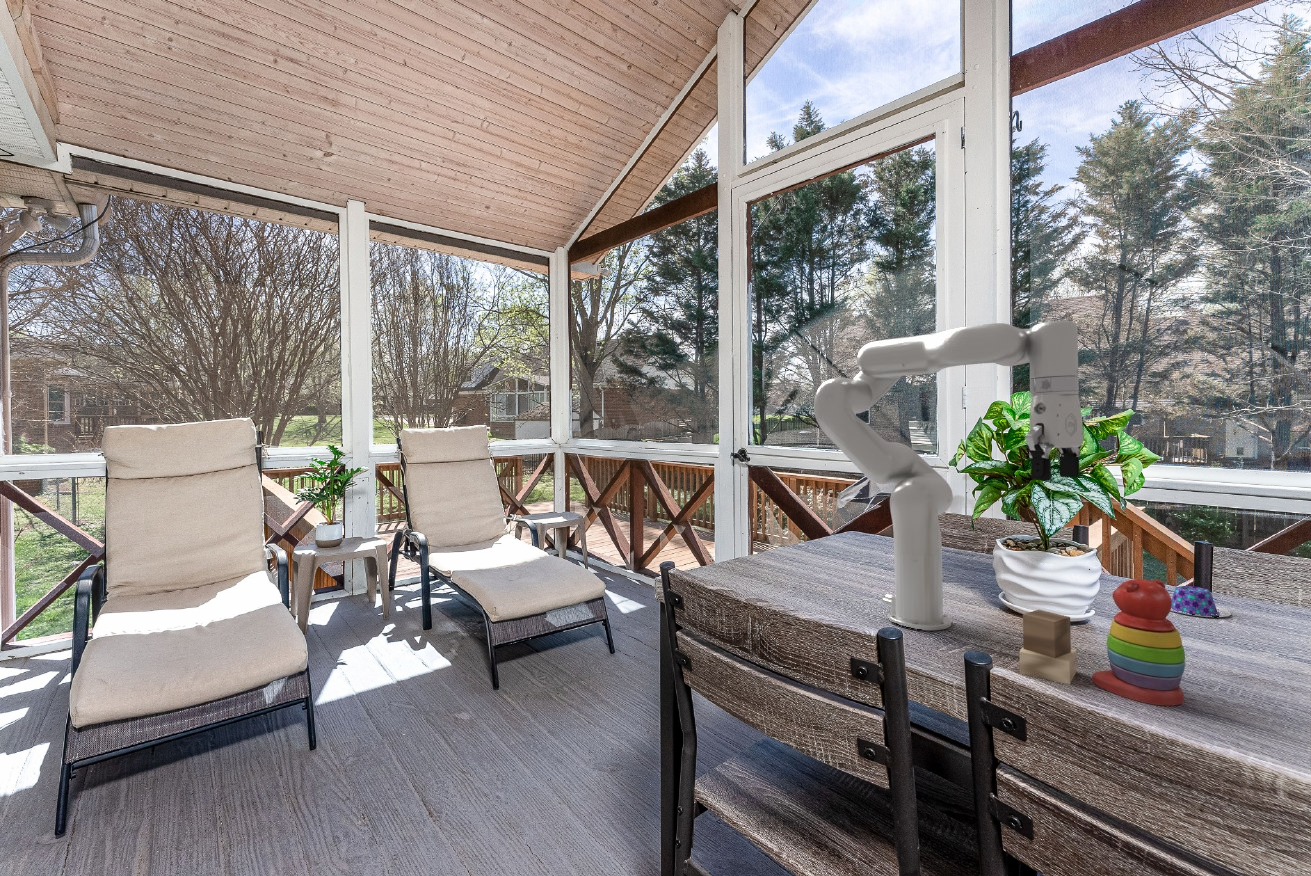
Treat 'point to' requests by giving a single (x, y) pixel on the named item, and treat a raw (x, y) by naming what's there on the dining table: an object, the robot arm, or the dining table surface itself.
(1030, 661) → the oak block
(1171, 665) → the stacking bear
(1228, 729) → the dining table surface
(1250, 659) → the dining table surface
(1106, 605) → the dining table surface
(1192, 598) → the blue patterned hat
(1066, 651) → the walnut block
